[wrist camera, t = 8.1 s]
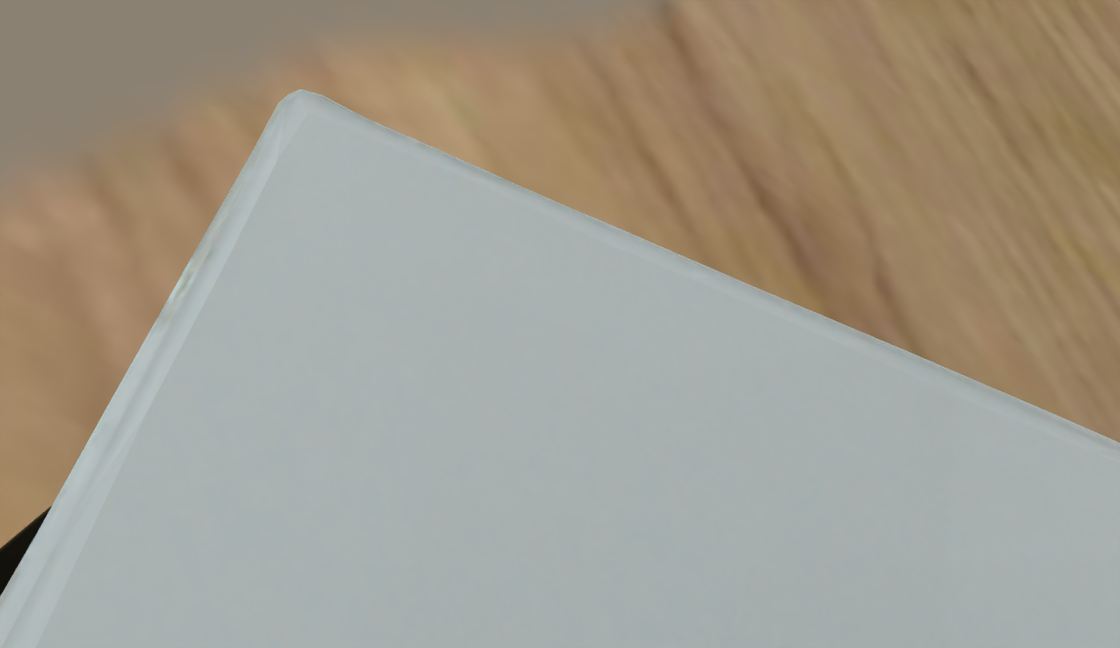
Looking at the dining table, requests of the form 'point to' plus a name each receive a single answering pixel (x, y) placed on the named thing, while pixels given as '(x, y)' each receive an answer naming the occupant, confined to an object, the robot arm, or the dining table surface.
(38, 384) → the dining table surface
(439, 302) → the skincare box
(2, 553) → the robot arm
